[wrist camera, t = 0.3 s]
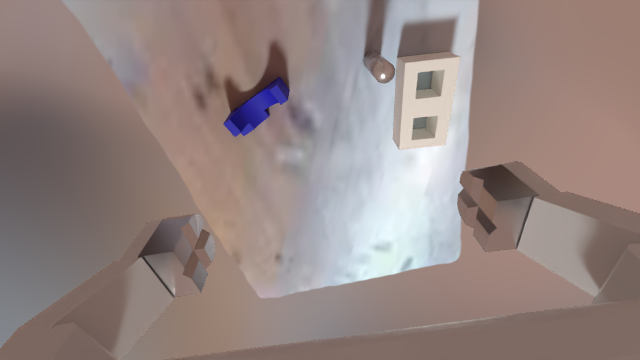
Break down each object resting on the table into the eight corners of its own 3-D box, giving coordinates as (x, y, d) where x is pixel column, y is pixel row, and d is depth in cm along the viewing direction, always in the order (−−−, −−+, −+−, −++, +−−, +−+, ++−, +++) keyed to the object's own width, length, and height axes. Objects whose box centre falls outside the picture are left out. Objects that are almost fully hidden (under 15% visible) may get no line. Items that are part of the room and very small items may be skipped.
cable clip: (246, 130, 56) (240, 143, 51) (231, 112, 54) (223, 124, 49) (294, 96, 53) (293, 107, 48) (279, 76, 51) (276, 85, 46)
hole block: (396, 57, 49) (405, 62, 45) (447, 51, 49) (460, 56, 45) (392, 138, 58) (399, 149, 54) (435, 134, 58) (445, 144, 54)
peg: (363, 52, 49) (375, 63, 40) (380, 50, 49) (395, 61, 40) (363, 69, 50) (374, 84, 42) (379, 68, 50) (394, 82, 42)
